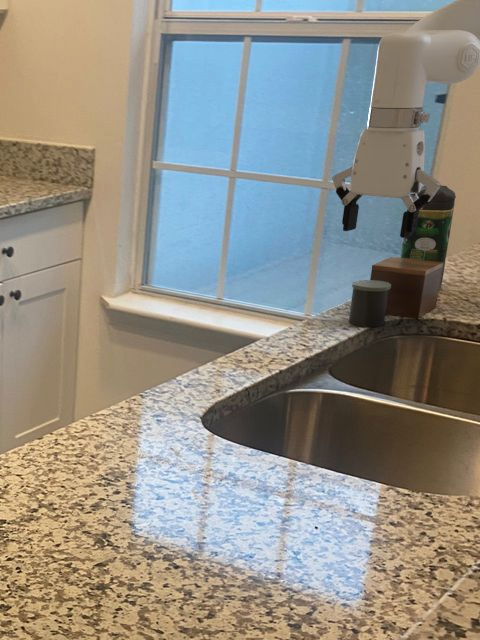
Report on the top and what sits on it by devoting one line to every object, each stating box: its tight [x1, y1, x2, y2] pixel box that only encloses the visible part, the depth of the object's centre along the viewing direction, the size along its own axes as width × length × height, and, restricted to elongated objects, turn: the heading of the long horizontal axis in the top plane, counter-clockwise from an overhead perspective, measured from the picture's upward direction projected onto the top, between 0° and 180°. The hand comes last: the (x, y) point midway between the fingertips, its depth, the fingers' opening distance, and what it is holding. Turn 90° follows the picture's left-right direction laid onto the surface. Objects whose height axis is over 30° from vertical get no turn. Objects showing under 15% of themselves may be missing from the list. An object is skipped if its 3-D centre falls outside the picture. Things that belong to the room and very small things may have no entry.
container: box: [348, 279, 391, 328], centre depth 170 cm, size 6×6×7 cm
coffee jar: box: [400, 185, 457, 289], centre depth 191 cm, size 10×8×19 cm
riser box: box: [369, 256, 444, 319], centre depth 178 cm, size 9×9×8 cm
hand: (377, 233), depth 166 cm, fingers open, 9 cm apart
